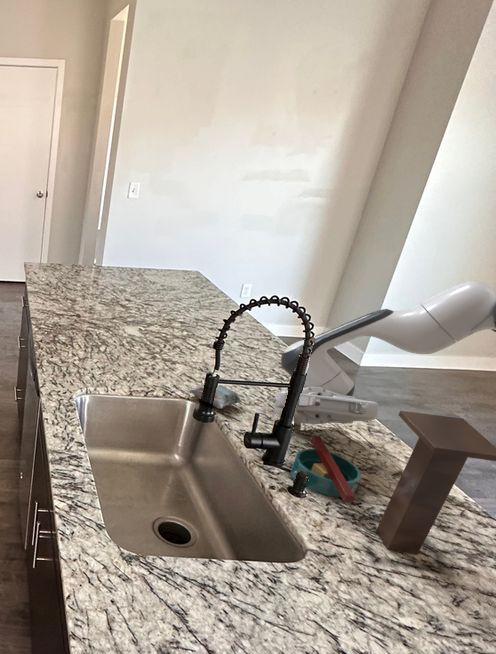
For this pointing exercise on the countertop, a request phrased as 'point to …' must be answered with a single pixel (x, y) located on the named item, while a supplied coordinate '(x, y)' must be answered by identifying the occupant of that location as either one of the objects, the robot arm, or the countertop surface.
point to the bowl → (323, 484)
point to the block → (320, 470)
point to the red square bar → (333, 469)
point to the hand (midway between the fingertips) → (340, 404)
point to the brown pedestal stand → (429, 477)
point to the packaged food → (218, 396)
